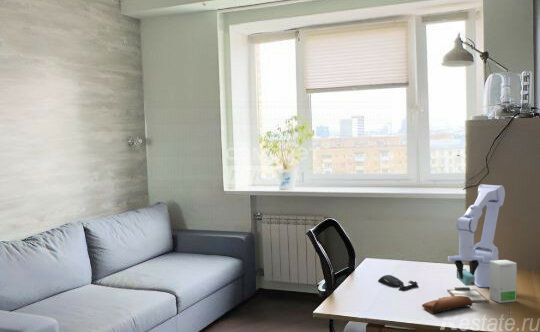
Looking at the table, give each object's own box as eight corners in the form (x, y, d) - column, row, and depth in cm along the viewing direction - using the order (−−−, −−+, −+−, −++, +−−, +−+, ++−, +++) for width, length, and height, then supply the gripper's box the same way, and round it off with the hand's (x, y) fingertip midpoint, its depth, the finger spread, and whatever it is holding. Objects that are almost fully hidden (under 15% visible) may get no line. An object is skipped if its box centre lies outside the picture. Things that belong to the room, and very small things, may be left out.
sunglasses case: (456, 297, 208) (463, 287, 204) (467, 312, 203) (474, 302, 199) (419, 305, 201) (426, 294, 197) (429, 320, 196) (436, 309, 192)
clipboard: (447, 291, 220) (447, 287, 220) (476, 290, 220) (476, 287, 220) (458, 302, 206) (458, 298, 206) (488, 302, 206) (488, 298, 206)
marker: (456, 277, 222) (456, 269, 222) (465, 277, 222) (465, 269, 222) (468, 288, 208) (468, 279, 207) (477, 288, 207) (477, 279, 207)
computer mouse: (395, 277, 242) (395, 269, 242) (423, 287, 227) (423, 278, 227) (375, 282, 237) (375, 273, 236) (402, 292, 221) (402, 283, 221)
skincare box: (499, 303, 204) (499, 264, 203) (488, 298, 210) (488, 260, 209) (517, 301, 206) (517, 262, 205) (505, 295, 213) (505, 258, 211)
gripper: (451, 248, 211) (451, 281, 212) (487, 248, 210) (487, 281, 211) (446, 244, 218) (446, 276, 219) (481, 244, 217) (481, 275, 218)
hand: (466, 278), depth 215 cm, fingers closed on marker, 4 cm apart
